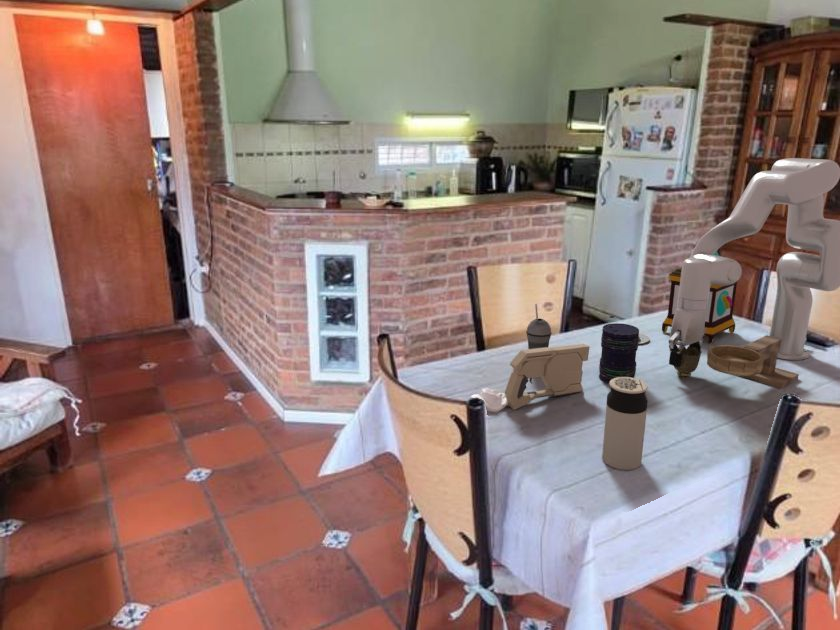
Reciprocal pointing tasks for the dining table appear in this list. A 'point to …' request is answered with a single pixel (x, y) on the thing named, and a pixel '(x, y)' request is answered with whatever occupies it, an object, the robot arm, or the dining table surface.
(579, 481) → the dining table surface
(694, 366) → the cup
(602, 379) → the storage jar
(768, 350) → the rail cup bracket
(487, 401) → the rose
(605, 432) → the travel mug
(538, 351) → the gun
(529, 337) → the beverage cup
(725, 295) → the decorative lantern
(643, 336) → the beige low round piece
